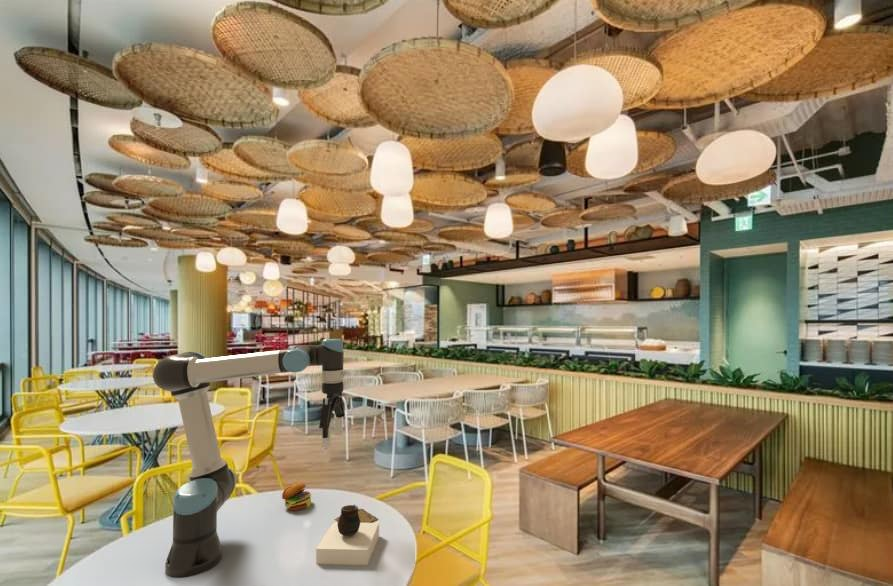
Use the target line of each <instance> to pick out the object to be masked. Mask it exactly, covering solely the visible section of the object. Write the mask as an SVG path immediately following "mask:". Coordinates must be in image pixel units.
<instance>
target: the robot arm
mask: <svg viewBox="0 0 893 586" xmlns="http://www.w3.org/2000/svg"><path fill="white" fill-rule="evenodd" d="M344 352H345V351H344V341H343V340H342V339H341V338H325V339H323V340H322V343H321V344H305V345H303V344H296V345H295V344H294V345H289V346H288V347H287V349H279V350H277V349H276V350H269V351H263V352H262V351H260V352H253V353H251V352H250V353H246V354H245V353H243V354H235V355H234V354H233V355H227V356H226V355H225V356H217V357H207V356H206V355H204V354H203V353H200V352H197V351H187V352H182V353H178V354H173V355H167V356H166V357H164V358H162V359H161V360H160V361H158V363H156V365H155V366H154V368H153V372H152V379H153V382H154V384H155V385H156V386H157V387H158V388H160V389H161V390H164V391H166V392H170V394H171V397H172V398H174V399H176V400H177V401H178V405H179V410H180V415H181V420H182V424H183V428H184V434H185V438H186V441H187V442H186V443H187V447H188V448H187V449H188V451H189V457H190V461H191V466H192V469H191V471H190V472H189V474H188V477H189V482H186V483H184V484H182V485H181V486H180V487H179V488H177V490H176V491H175V492H174V495H173V502H172V512H173V514H172V515H173V516H172V520H173V521H172V544H171V546H170V549H169V552H168V554H167V555H168V556H167V557H166V560H165V567H164V568H165V569H164V570H165V571H164V572H165V574H166V575H167V576H168V577H170V578H174V579H183V578H189V577H194V576H197V575H200V574H202V573H204V572H206V571H209V570H210V569H212V568H214V567H215V566H217V564H218V563H220V561H221V560H222V558H223V545H222V543H221V540H220V538H219V534H218V531H217V528H218V527H217V524H218V519H217V518H218V511H219V510H220V509H221V507H222V506H223V505H224V504H225V503H226V502H227V501H228V500H229V498H231V495H232V494H233V492H234V490H235V488H236V484H237V478H236V477H237V476H236V474H235V472H234V471H233V469H232V468H230V467H229V465H228V461H227V460H226V459H223V458H222V455H221V450H220V447H219V443H218V438H217V434H216V433H217V432H216V429H215V425H214V419H213V414H212V411H211V410H212V409H211V405H210V402H209V396H208V391H209V389H210V387H211V383H212V382H220V381H221V382H222V381H228V380H229V381H230V380H236V379H237V380H238V379H244V378H250V377H251V378H252V377H259V376H260V377H261V376H269V375H275V374H284V373H293V374H295V373H300V372H303V371H304V370H305V369H306V368H308V367H314V366H315V367H316V366H319V367H320V366H322V367H321V381H322V383H321V392H322V394H324V395H326V398H323V399H322V407H321V414H320V420H319V426H318V428H319V429H321V448H331V427H330V426H331V425H330V424H331V421H332V417H333V412H334V415H335V417H334V436H343V418H345V417H346V414H345V407H344V401H343V396H342V395H343V392H344V381H343V380H344V375H346V374H345V372H344V355H345V353H344Z"/></svg>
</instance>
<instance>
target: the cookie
mask: <svg viewBox="0 0 893 586" xmlns="http://www.w3.org/2000/svg"><path fill="white" fill-rule="evenodd" d="M358 514H359V518H360V523H375V522H376V521H378V520H379V518H378V517H376V516H375V515H373V514H372V513H370V512H369V511H366V510H365V509H364V508H358ZM339 517H340V516H338V517H336V518H334V522H338V520H339Z"/></svg>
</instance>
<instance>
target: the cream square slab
mask: <svg viewBox="0 0 893 586" xmlns="http://www.w3.org/2000/svg"><path fill="white" fill-rule="evenodd" d="M330 525H331V526H330V527H329V528H328V530H327V532H326V533H325V535H324V536H323V538H322V540H321V541H320V542H319V544H318V545H317V547H316V548H315V549H316V551H315V552H316V553H315V561H316V562H315V564H316V565H317V564H318V565H353V566H354V565H357V566H359V565H360V566H367V565H369V562H370V560H371V557H372V555H373V552H374V550H375V547H376V546H377V545H376V544H377V543H378V539H379V538H380V523H379V522H372V523H360V527H359V530H358V532H357V533H355V534H354V535H352V536H343V535H342V534H340V533H339V530H338V522H337V521H333V522H332V524H330Z"/></svg>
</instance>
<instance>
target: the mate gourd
mask: <svg viewBox="0 0 893 586" xmlns="http://www.w3.org/2000/svg"><path fill="white" fill-rule="evenodd" d="M358 509H359V507H358V506H357V505H356V504H348V505H345V506H342V507H341V509H340V516H338V517H339V520H338V530H339V533H340V534H342V535H343V536H352V535H354V534H355V533H357V532H358V530H359V527H360V518H359V514H358Z"/></svg>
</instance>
